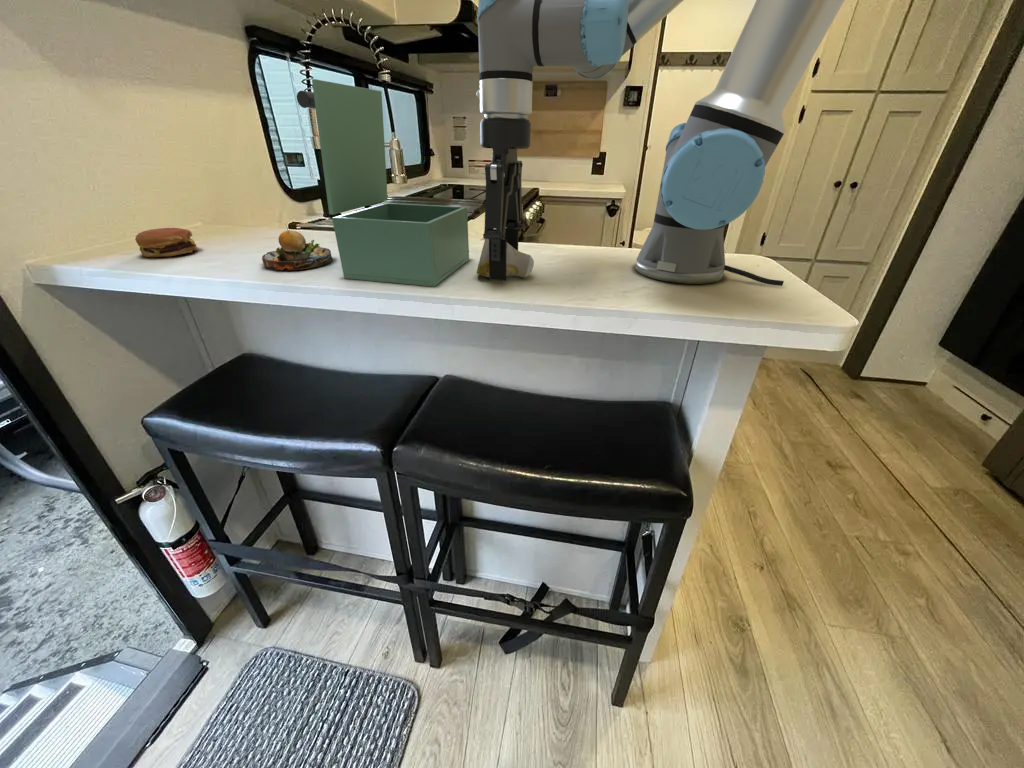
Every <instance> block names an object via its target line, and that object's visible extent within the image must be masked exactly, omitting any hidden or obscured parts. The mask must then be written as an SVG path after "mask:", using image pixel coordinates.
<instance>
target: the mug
mask: <svg viewBox="0 0 1024 768" xmlns="http://www.w3.org/2000/svg"><path fill="white" fill-rule="evenodd" d="M534 264H535V261H534V258H533V256H532V255H531V254H527V253H525V252H522V251H519V249H518V250H516V249H515V248H513V247H512V246H511V245H510V244H508V243H507V256H506V277H508V276H514V277H520V278H524V279H525V278H526V277H529V276H530V275H531V274H532V271H533V268H534ZM476 274H477V275H479V276H482V277H485V278H489V239H484V242H483V245H482V249H481V253H480V257H479V261H478V265H477V269H476Z"/></svg>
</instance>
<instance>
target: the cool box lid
mask: <svg viewBox="0 0 1024 768" xmlns="http://www.w3.org/2000/svg"><path fill="white" fill-rule="evenodd" d="M311 83H312V91H307V90H299V91H298V92H297V94H296V101H297V103H298V105H299V107H301V108H304V109H312V110H315V115H316V122H317V129H318V138H319V139H318V140H319V146H320V154H321V162H322V169H323V177H324V184H325V185H324V186H325V191H326V200H327V206H328V207H327V208H328V214H329V215H332V216H334V215H338V214H341V213H345V212H349V211H353V210H356V209H360V208H364V207H367V206H368V207H369V206H372V205H375V204H379V203H380V204H381V203H383V202H388V200H389V199H388V183H387V182H388V179H387V164H386V161H387V160H386V146H385V144H386V143H385V128H384V110H383V108H384V107H383V96H382V95H383V94H382V92H383V91H382V90H377V89H371V88H367V87H360V86H355V85H348V84H344V83H339V82H337V83H336V82H333V81H327V80H322V79H316V78H312V79H311Z"/></svg>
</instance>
